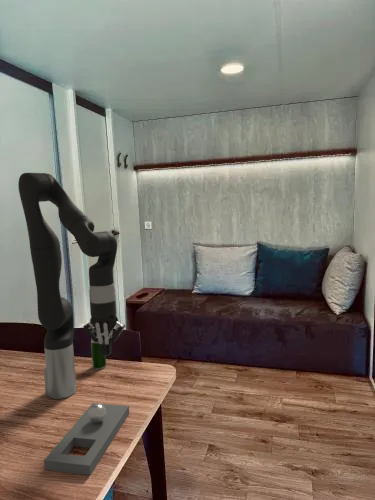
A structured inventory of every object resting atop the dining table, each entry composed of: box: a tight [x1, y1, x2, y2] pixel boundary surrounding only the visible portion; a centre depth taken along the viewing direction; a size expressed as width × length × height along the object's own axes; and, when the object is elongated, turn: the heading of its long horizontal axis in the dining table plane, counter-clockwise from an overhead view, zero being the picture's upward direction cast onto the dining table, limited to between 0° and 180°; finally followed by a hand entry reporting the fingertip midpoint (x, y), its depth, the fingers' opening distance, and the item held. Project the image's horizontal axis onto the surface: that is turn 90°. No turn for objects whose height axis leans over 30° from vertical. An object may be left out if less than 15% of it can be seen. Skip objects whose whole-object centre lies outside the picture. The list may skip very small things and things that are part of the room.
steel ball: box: [88, 403, 106, 423], centre depth 102 cm, size 5×5×5 cm
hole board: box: [43, 402, 130, 476], centre depth 98 cm, size 12×26×2 cm, turn 169°
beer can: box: [90, 338, 107, 371], centre depth 143 cm, size 5×5×12 cm
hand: (106, 354), depth 108 cm, fingers closed
